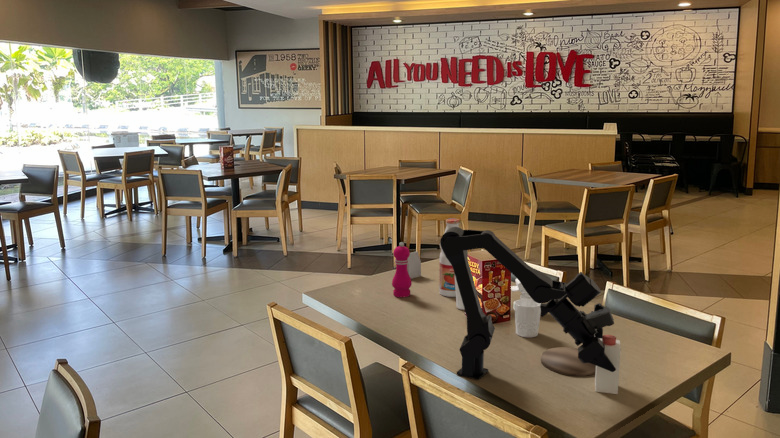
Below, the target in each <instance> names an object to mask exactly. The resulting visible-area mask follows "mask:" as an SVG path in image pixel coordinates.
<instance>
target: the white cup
mask: <svg viewBox="0 0 780 438" xmlns="http://www.w3.org/2000/svg"><path fill="white" fill-rule="evenodd" d="M514 301H515V310H514V320H515V321H514V323H515V324H514V325H515V335H517V336H519V337H522V338H535V337H538V336H539V328H540V322H541V316H540V315H541V308H540V304H541V303H537V302H535V301H534V300H533V299H517V300H514Z"/></svg>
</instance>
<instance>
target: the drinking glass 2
mask: <svg viewBox="0 0 780 438" xmlns="http://www.w3.org/2000/svg"><path fill="white" fill-rule="evenodd" d="M455 290H456V297H455V300H456V301H455V306H456V308H457V309H458V310H461V311H465V309H464V305H463V302H462V298H461V295H460V291H459V288H458V284H457V281H456V277H455Z"/></svg>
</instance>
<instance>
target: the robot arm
mask: <svg viewBox="0 0 780 438" xmlns="http://www.w3.org/2000/svg"><path fill="white" fill-rule="evenodd" d="M444 232H445V231H444ZM444 232H443V234H442V236H441V237H440V239H439V246H440V245H441V247H440V249H441V248H442V250H443V252H444V254H445V256H446V258H447V259H448V261H449V262H450V263H451V265H452V267H453V270H454V274H455V277H456V281H457V284H458V288H459V291H460V295H461V298H462V302H463V305H464V309H465V310H464V311H465V315H466V332H467V333H466V335H465V336H464V338H463V340H462V342H461V345H460V347H459V349H458V350H459V352H460V355H461V368H460V369H458V370H457V371H456V375H459V376H461V377H466V378H470V379H473V380H480V379H481V378H483V376H484V375H486V374H487V373H488V372H489V369H488V368H485V367H484V365H485V364H484V361H485V360H484V359H485V358H484V357H485V353H484V352H485V351H486V350H487V349H488V348H489V347H490V345H491V342H492V340H493V336H494V333H495V329H496V326H494V324H493V321H492V320H493V319H492V315H491V314H488V315H486V314H485V313H484V312H483V310H482V306H481V303H480V299H479V296H478V292H477V288H476V285H475V280H474V281H473V277H472V274H471V270H470V267H469V264H470V263H469V257H468V255H469V254H468V251H472V250H478V249H484V250H485V251H486V252H488V254H490V255H491V256H492V257H493V258H494V259H495V260H496V261H497V262H499V263H500V264H501V265H502V266H503V267H504V268H505V269H507V271H509V272H510V273H511V274H512V275H513V276H514V277H515V279H518V280H519V281H520V282H521V284H522V286H523V287H524V289H525V290H526V292H527V293H528V294H529V295H530V297H531V298H532V299H533V300H534V301H535V302H537V303H541V304H540V308H541V312H540V318H543V317H545V316H546V315H548V313H549V314H550V315H551V317H552V318H553V319H554V320H555V321H556V322H557V324H559V325H560V326H561V327H562V328H563V330H562V331H563V332H564V334H565V335H566V334H569V336H571V338H572V339H573V340H574V344H575V345H576V346H577V347H578V358H579V360H580V361H581V362H582V363H583V364H584V363H591V364H593V365H596V366H599V367H601V368H604V369H606V370H608V371H611V372H614V371H615V370H616V368H615V367H614V365H613V364H612V362H611V361H610V359H609V358H608V357H607V355H606V354H605V344H603V343H602V341H601V340H600V339H599V338H602V336H603V335H604V334H603V333H604V328H605V327H611V326H613V325H614V324H615V322H614V319H615V318H614V317H613V315H612V313H611V309H610V308H609V307H608V306H605V305H603V304H602V303H600V302H599V303H596V304H594V307H593V310H591V311H590V312H589V313H586V312H585V311H583V310H579V309H578V308H580V307H582V308H583V307H585V306H587V304H589V303H590V302H591V301H592V300H594V299H595V298H596V297H597V296H599V295H600V294H602V290H601V289H600V287H599V286H598V285H597V283H596V282H595V281H594V280H593V279H592V278H590V277H588V276H587V275H585V274H584V273H583V272H582V271H580V272H578V273H577V274H576V275H575V277H574V278H572V279H571V280H570V281H569V282H568V283H567V282H565V281H560V280H554V279H552V278H551V277H549V276H548V275H546V274H545V273H543V272H541V271H540V270H538V269H536V268H533V267H532V266H530V265H529V264H527V262H525V261H524V260H523V259H522V258H521V257H519V255H518V254H516V252H515V251H513V250H512V249H510V247H508V245H506V244H505V243H504V242H503V241H502V240H501V239H500V238H499V237H498V236H497V235H496V234H495V233H494V231H491V230H489V229H487V230H476V229H462V228H461V227H460V226H459V227H452V228H449V229H448V230H447V231H446V232H445V233H444ZM577 307H578V308H577Z"/></svg>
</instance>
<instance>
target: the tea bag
mask: <svg viewBox="0 0 780 438" xmlns="http://www.w3.org/2000/svg"><path fill="white" fill-rule="evenodd" d="M408 262H409V263H408V264H407V270H408V274H409V276H410V278H411V280H412V279H415V278H418V277H421V276H422V261H421V258H420V255H419V251H418V250H416V251H413V252H410V256H409V257H408Z"/></svg>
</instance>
